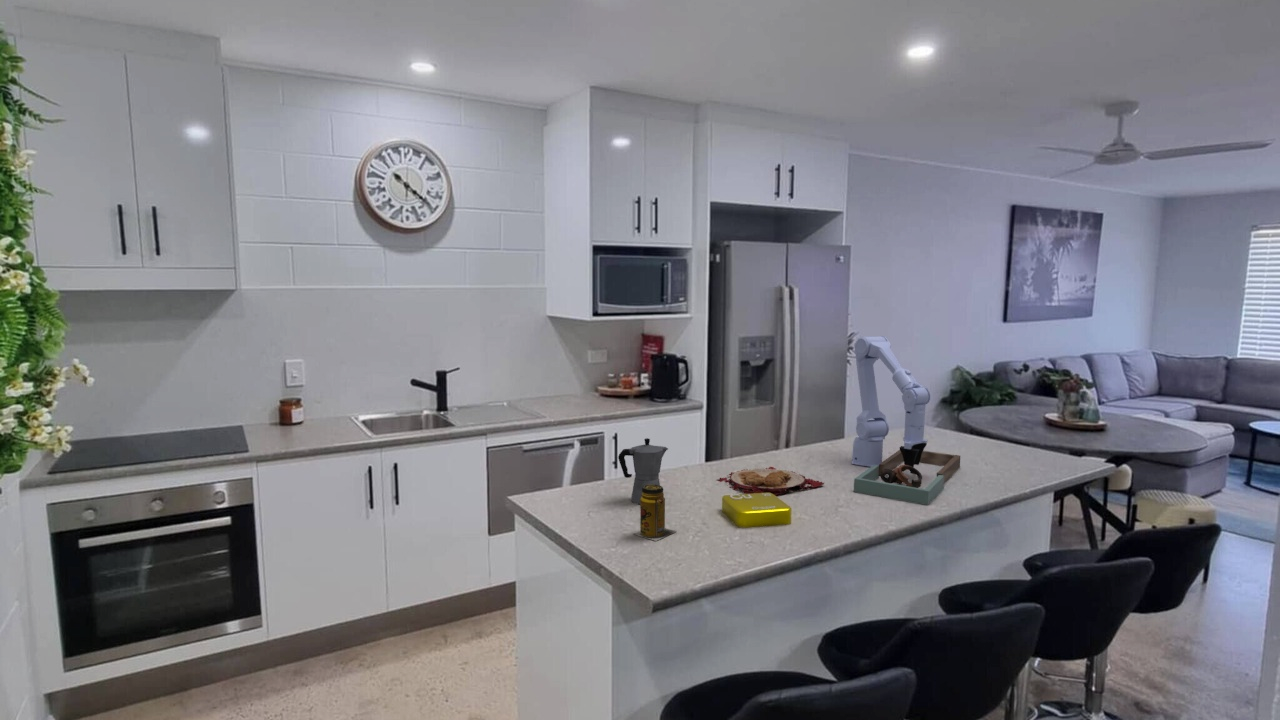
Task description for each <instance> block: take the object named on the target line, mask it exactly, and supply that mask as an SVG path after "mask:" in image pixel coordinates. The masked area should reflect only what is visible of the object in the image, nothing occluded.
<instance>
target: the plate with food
mask: <svg viewBox="0 0 1280 720" xmlns="http://www.w3.org/2000/svg"><path fill="white" fill-rule="evenodd" d="M728 477H729V478H730V479H728ZM716 481H717V482H724V483H728V484H729V485H732V484H733V485H732V486H729V485H728V484H727V485H726V486H727V487H729V488H731V489H732V490H736V491H742V492H743V494H753V493H772V494H774V495H775V496H776V497H778V496H779V495H781V494H787V493H788V492H789V493H793V492H794V491H793V490H788V489H790V488H792V487H793V488H795V487H799V489H798V490H797V492H802V491H803V492H804V491H810V489H812V488H817V487H821V486H824V484H825V482H823V481H819V480H814V479H813V478H811V479H810V478H806V476H805V475H803V474H800V473H799V474H798V473H796V471H791V470H786V469H777V468H775V467H774V466H769V467H768V468H767V467H766V468H753V469H752V468H751V469H747V468H746V469H741V470H737V471H736V472H730V473H729V474H728V475H726V477H723V478H722V477H721V478H719V479H716ZM751 490H752V491H751Z"/></svg>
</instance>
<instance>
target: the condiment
mask: <svg viewBox="0 0 1280 720" xmlns="http://www.w3.org/2000/svg"><path fill="white" fill-rule="evenodd" d="M639 506H640V509H639V510H640V517H639V519H640V522H639V523H640V525H639V526H640V527H639V529H640V531H637V532H634V535H635V536H638V537H641V538H643V539H648V540H652V541H654V542H657V541H660V540H662V539H664V538H666V537H668V536H669V535H672V534H674V533H676V532H677V530H673V529H670V528H666V523H665V522H666V498H665V497H664V488H663V486H662V485H661V484H660V485H645V486H643V487H642V497H641V500H640V505H639Z"/></svg>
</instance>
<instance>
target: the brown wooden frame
mask: <svg viewBox="0 0 1280 720" xmlns="http://www.w3.org/2000/svg"><path fill="white" fill-rule="evenodd" d="M903 463H904V459H903V456H902V453H901V451H900V449H899V450H897V451H896V452H894V453H893V454H891V455H890V456H888V458H886V459H884V460H882V462H881V463H880V464H879V476H878V477H880V472H881V471H882V470H883V469H890V470H894V469H895V468H898V467H899V465H900V466H901V465H902V464H903ZM920 463H922V464H928V465H933V466H934V465H935V466H941V467H942V468H940V470H938V471H937V472H936V477H937V476H938V475H942V476H944V484H945V483H946V482H948V481H949V479H950V478H951V477H952V476H953V475H954V474H955V473H956V472H957V471H958V470H959V469H960V467H961V466H960V465H961V455H958V454H950V453H943V452H937V451H936V452H935V451H930V450H929V451H928V450H923V453H922V456H921V459H920ZM920 463H919V464H920ZM885 476H887V474H886V475H885Z"/></svg>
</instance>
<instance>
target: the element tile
mask: <svg viewBox="0 0 1280 720" xmlns="http://www.w3.org/2000/svg"><path fill="white" fill-rule="evenodd" d="M721 512H722V513H723V514H724V515H725V516H726V517H727V518H728V519H729V520H730V521H731V522H732V523H733V524H734V525H735V526H737V527H739V528H745V529H748V528H760V527H772V526H788V525H790V524H791V523H792V507H791V506H790V505H788V504H787V503H786V502H784V501H783V500H782V499H780V498H779V497H778V496H775V495H774V494H772V493H753V494H746V493H740V494H737V493H736V494H735V493H733V494H725V495H723V496H722V498H721Z"/></svg>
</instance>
